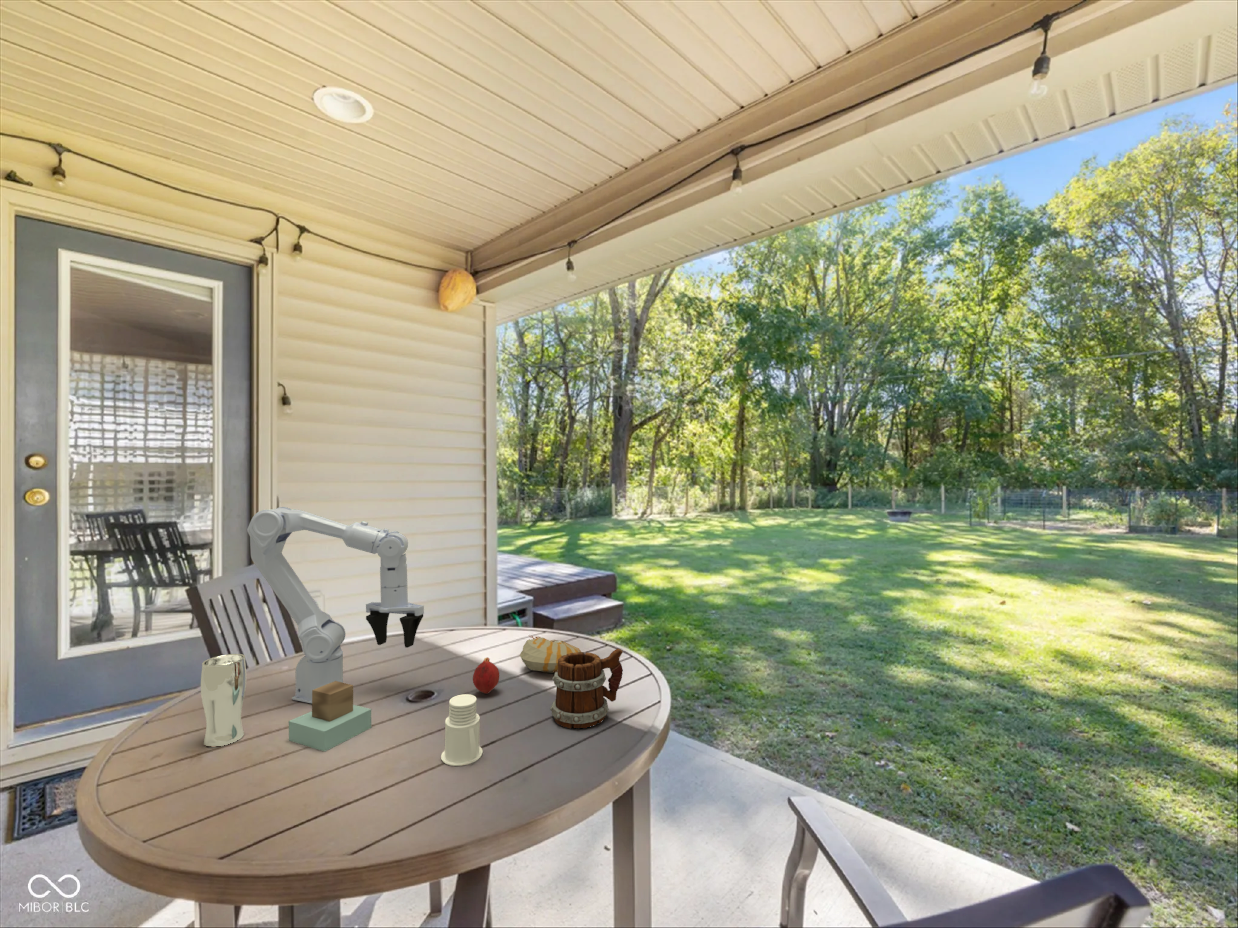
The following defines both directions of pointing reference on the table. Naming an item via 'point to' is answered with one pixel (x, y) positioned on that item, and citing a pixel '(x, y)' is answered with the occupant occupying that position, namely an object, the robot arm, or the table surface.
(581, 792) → the table surface
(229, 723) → the beer glass
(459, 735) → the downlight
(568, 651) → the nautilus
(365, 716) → the riser block
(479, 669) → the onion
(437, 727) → the table surface
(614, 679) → the mug
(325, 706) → the walnut block
